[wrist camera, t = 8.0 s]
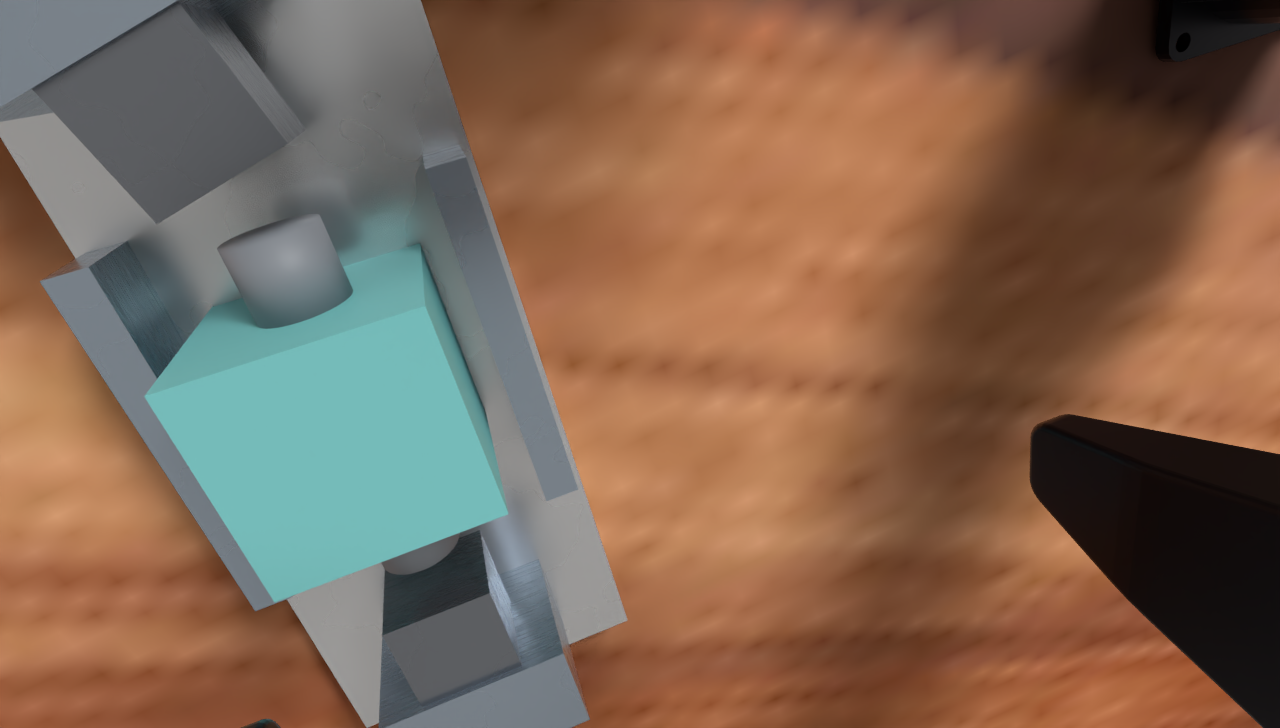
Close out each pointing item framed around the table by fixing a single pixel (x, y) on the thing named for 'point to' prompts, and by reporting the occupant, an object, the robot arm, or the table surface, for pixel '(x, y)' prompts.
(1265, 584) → the robot arm
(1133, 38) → the table surface
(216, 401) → the coupler
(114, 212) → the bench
